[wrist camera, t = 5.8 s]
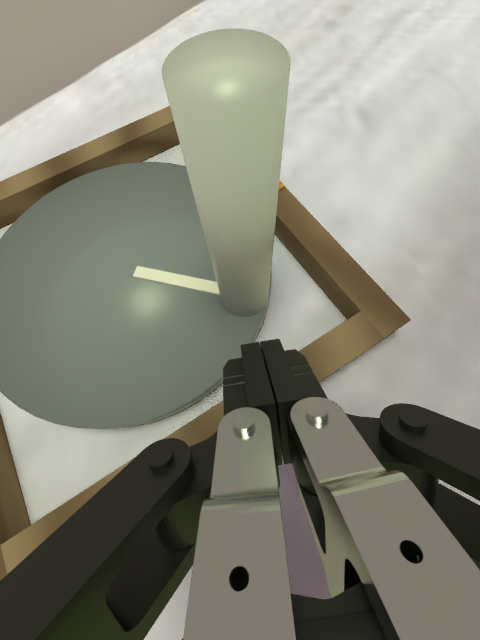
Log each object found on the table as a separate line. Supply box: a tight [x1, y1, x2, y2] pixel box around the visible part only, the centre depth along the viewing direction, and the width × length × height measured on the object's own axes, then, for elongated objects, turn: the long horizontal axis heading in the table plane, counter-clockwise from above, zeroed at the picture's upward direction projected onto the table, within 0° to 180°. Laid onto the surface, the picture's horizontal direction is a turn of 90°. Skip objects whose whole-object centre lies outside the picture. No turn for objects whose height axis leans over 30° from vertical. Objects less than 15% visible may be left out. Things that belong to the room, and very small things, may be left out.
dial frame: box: [0, 106, 410, 581], centre depth 20 cm, size 26×26×2 cm
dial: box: [0, 29, 290, 429], centre depth 14 cm, size 20×20×14 cm
